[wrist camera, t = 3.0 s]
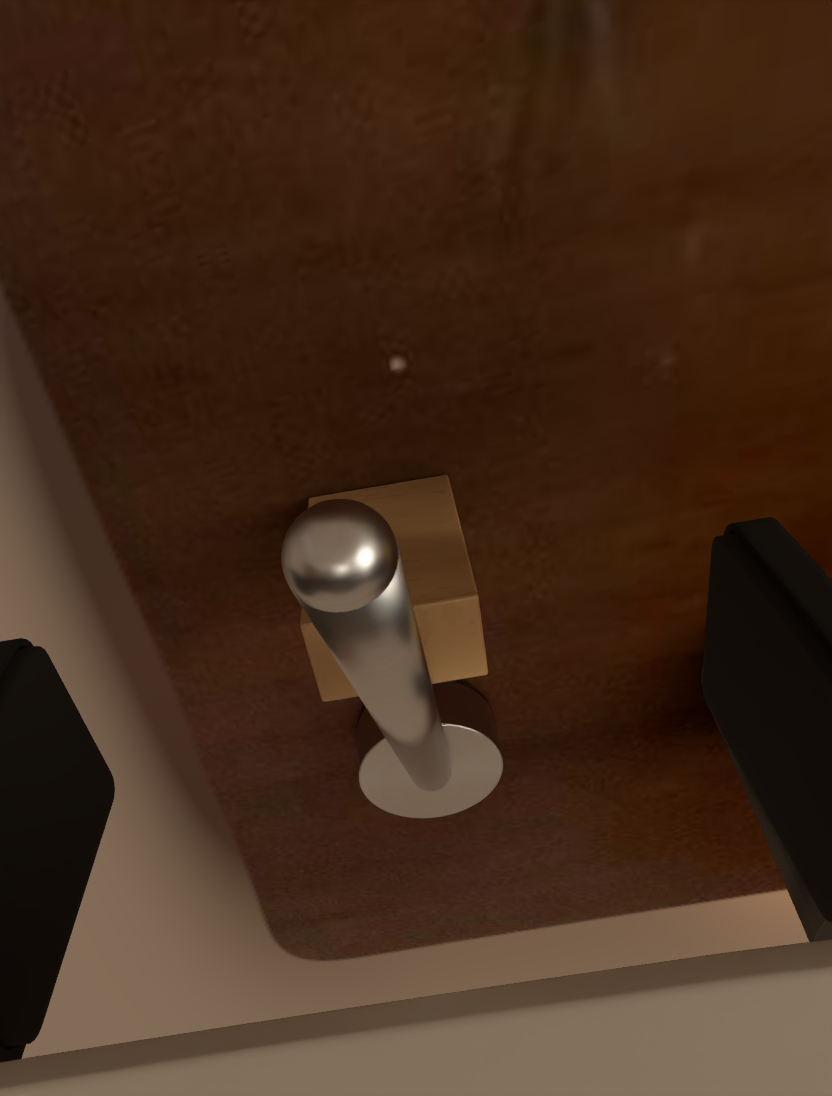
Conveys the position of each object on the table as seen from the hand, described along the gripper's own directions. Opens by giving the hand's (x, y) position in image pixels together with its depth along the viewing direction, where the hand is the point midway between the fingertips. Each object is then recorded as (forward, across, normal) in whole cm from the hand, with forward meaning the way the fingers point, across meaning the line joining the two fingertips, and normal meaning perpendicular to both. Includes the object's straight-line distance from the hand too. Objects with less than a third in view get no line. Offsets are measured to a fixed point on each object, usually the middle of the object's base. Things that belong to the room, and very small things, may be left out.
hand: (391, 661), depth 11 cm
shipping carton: (+11, 0, +4) cm, 12 cm away
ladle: (+11, 0, +6) cm, 12 cm away
